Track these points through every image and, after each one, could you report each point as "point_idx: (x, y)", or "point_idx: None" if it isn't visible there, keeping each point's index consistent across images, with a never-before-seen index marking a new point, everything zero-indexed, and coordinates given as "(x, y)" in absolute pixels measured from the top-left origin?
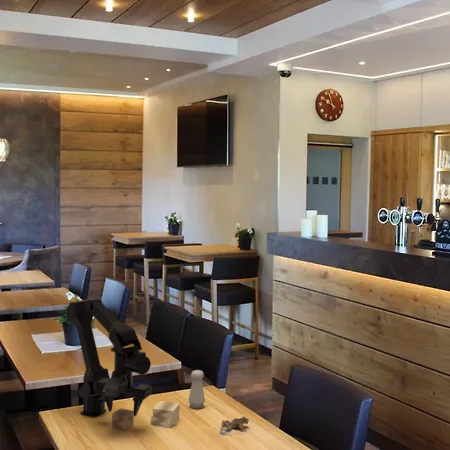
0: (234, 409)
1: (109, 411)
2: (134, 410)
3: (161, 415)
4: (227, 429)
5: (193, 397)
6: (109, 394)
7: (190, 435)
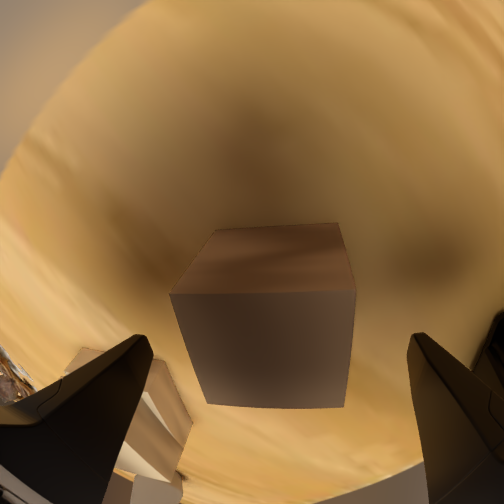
0: None
1: (418, 333)
2: (98, 364)
3: None
4: (9, 367)
5: (146, 492)
6: None
7: (11, 311)
